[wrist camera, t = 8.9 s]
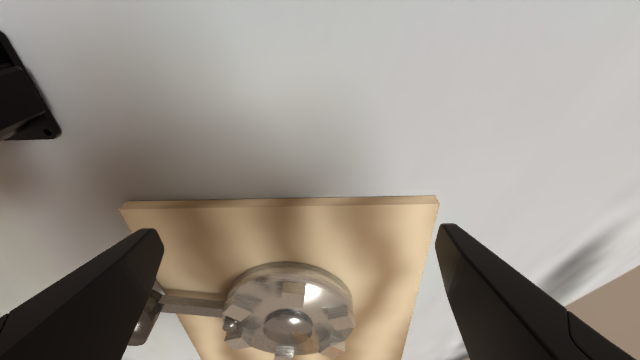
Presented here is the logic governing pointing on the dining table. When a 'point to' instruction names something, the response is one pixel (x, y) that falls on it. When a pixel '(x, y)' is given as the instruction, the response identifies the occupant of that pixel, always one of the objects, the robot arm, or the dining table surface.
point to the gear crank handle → (270, 311)
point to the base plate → (296, 259)
